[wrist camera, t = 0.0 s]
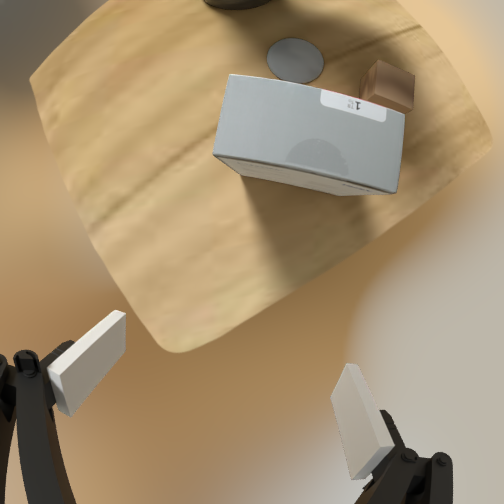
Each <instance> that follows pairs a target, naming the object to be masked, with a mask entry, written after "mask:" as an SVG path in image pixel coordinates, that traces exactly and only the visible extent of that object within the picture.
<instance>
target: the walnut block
mask: <svg viewBox="0 0 504 504" xmlns="http://www.w3.org/2000/svg"><path fill="white" fill-rule="evenodd" d="M414 85H415V75H413V74H411V73H409V72H406V71H404V70H402V69H400V68H398V67H395V66H393V65H391V64H388V63H386V62H383V61H381V60H377V61H376V62H375V63H374V64H373V66H372V67H371V68H370V69H369V70H368V72H367V73H366V74H365V75H364V76H363V77H362V79H361V84H360V91H359V99H362V100H365V101H369V102H372V103H375V104H378V105H381V106H384V107H386V108H389V109H391V110H394V111H397V112H400V113H402V114H406V113H408V112H410V111H411V110H413V102H414Z"/></svg>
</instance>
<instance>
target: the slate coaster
mask: <svg viewBox="0 0 504 504" xmlns="http://www.w3.org/2000/svg"><path fill="white" fill-rule="evenodd" d="M267 63H268V66H269V68H270V70H271V71H272V72H273V74H274V75H276V76H277V77H278V78H280V79H282V80H284V81H287V82H292V83H298V84H299V83H307V82H310V81H312V80H314V79H315V78H317V77H318V76H319V75H320V73H321V71H322V69H323V66H324V60H323V57H322V54H321V53H320V51H319V50H318V49H317V48H316V47H315V46H314V45H313V44H311V43H309V42H308V41H305V40H302V39H297V38H288V39H283V40H280V41H278V42H276V43H275V44H273V45H272V46H271V48H270V49H269V51H268V54H267Z"/></svg>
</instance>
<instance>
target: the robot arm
mask: <svg viewBox="0 0 504 504" xmlns="http://www.w3.org/2000/svg"><path fill="white" fill-rule="evenodd" d="M204 1H205V2H207V3H208V4H210V5H212V6H214V7H218V8H222V9H230V10H240V9H249V8H254V7H257V6H260V5H263V4H265V3H267V2H269V1H271V0H204ZM125 329H126V313H123V312H120V311H117V310H114V311H113V312H112V313H110V314H109V315H108V316H107V317H105V318H104V319H103V320H102V321H101V322H99V323H98V324H97V325H96V326H95V327H93V328H92V329H91V330H90V331H89V332H87V333H86V334H85V335H84V336H83V337H81V338H80V339H79V340H78V341H77V342H74V341H72V340H69V341H66V342H64V343H62V344H61V345H59V346H58V347H57V349H55V350H53V351H52V353H50V354H48V355H47V356H46V357H45V358H44V359H42V360H41V361H40V362H39V359H38V356H37V354H36V353H35V352H33V351H31V350H21V351H19V352H17V353H16V354H15V355H14V357H13V360H14V363H15V367H14V366H11V365H8V363H7V359H6V358H5V356H3V355H1V354H0V504H5V485H6V473H7V466H8V458H9V452H10V446H11V440H12V436H13V431H14V426H15V422H16V419H17V435H18V448H19V456H20V464H21V470H22V475H23V481H24V486H25V491H26V495H27V500H28V504H76V501H75V498H74V496H73V493H72V490H71V487H70V483H69V480H68V477H67V473H66V470H65V466H64V462H63V458H62V454H61V450H60V446H59V441H58V435H57V430H56V424H55V418H54V411H53V409H52V406H53V405H54V404H55V403H56V404H57V407H58V409H59V411H61V412H62V413H64V414H66V415H68V416H69V417H72V415H73V414H74V413H75V412H76V410H77V409H78V408H79V407H80V405H81V404H82V403H83V402H84V400H85V399H86V398H87V397H88V395H89V394H90V393H91V392H92V391H93V389H94V388H95V387H96V386H97V384H98V383H99V382H100V381H101V380H102V379H103V377H104V376H105V375H106V374H107V372H108V371H109V370H110V369H111V368H112V366H113V365H114V364H115V363H116V362H117V360H118V359H119V358H120V357H121V356H122V355H123V353H124V352H125V351H126V345H125V331H126V330H125ZM330 398H331V402H332V405H333V409H334V413H335V417H336V420H337V424H338V428H339V432H340V436H341V439H342V444H343V448H344V452H345V456H346V460H347V464H348V468H349V473H350V477H351V480H358V479H365V478H366V477H367V476H368V475H369V474H370V473H372V476H373V479H372V480H371V481H370V482H369V483H368V484H367V485H366V486H365V487H363V489H364V491H363V492H362V494H361V495H360V497H359V498H358V499H357V501H356V502H355V504H453V465H452V460H451V458H450V456H448V455H447V454H446V453H443V452H438V453H435V454H434V455H433V456H432V458H422V457H419V456H418V454H417V453H416V452H415V451H414V450H412V449H409V448H406V447H405V445H404V443H403V440H402V438H401V436H400V434H399V432H398V430H397V428H396V426H395V424H394V421H393V419H392V417H391V416H390V414H388V413H387V411H386V410H379V409H378V406H377V404H376V402H375V400H374V398H373V396H372V393H371V391H370V389H369V387H368V385H367V383H366V381H365V379H364V376H363V374H362V372H361V370H360V368H359V366H358V365H357V364H351V363H346V365H345V367H344V369H343V372H342V374H341V376H340V378H339V380H338V382H337V384H336V386H335V388H334V391H333V392H332V395H331V396H330Z"/></svg>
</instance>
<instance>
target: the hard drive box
mask: <svg viewBox="0 0 504 504" xmlns="http://www.w3.org/2000/svg"><path fill="white" fill-rule="evenodd" d="M404 123H405V115H404V114H402V113H400V112H397V111H394V110H391V109H389V108H386V107H384V106H381V105H378V104H375V103H372V102H369V101H365V100H362V99H359V98H356V97H352V96H349V95H345V94H341V93H337V92H333V91H329V90H326V89H320V88H315V87H311V86H306V85H302V84H297V83H292V82H287V81H281V80H275V79H267V78H260V77H252V76H244V75H234V74H230V75H229V79H228V82H227V87H226V91H225V95H224V100H223V104H222V109H221V114H220V118H219V123H218V128H217V133H216V138H215V143H214V149H213V156H215V157H216V158H217V159H219V160H220V161H222V162H223V163H224V164H226V165H227V166H229V167H230V168H231V169H233V170H234V171H236V172H237V173H238V174H240V175H243V176H249V177H255V178H260V179H265V180H270V181H275V182H280V183H285V184H290V185H294V186H299V187H303V188H308V189H312V190H316V191H321V192H325V193H329V194H333V195H337V196H350V195H386V194H394V193H396V192H397V188H398V182H399V174H400V165H401V156H402V146H403V136H404Z"/></svg>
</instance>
